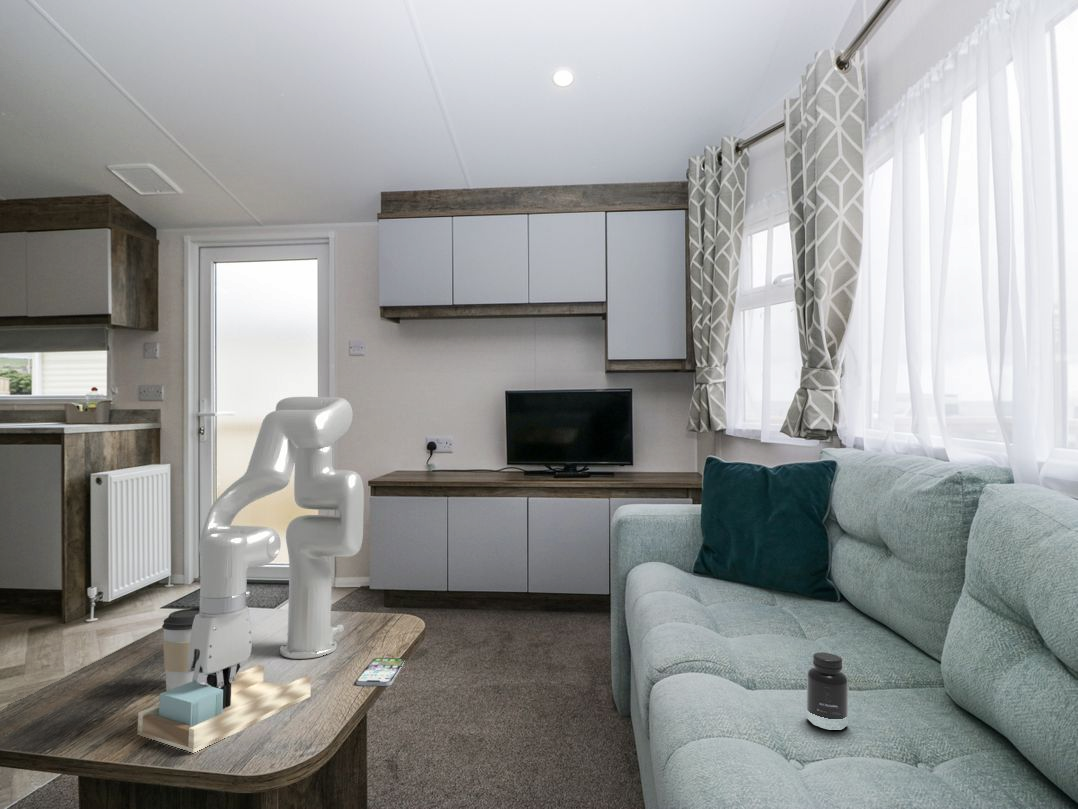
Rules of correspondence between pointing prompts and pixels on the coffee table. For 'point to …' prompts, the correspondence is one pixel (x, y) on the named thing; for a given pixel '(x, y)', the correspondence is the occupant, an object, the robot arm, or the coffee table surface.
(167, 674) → the coffee cup
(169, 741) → the bay
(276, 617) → the coffee table surface
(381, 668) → the smartphone
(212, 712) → the light blue block
